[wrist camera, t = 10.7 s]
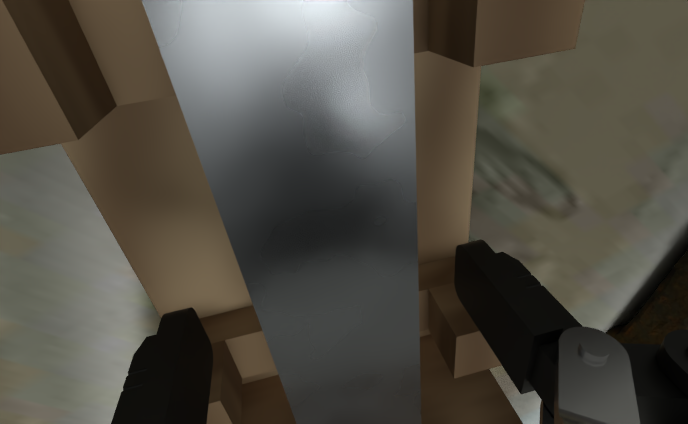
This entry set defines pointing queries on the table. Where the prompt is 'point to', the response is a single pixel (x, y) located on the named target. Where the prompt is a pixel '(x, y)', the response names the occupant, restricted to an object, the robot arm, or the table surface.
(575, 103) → the table surface
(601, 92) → the table surface
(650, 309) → the dark brown bar
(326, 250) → the rail
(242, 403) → the post cradle
